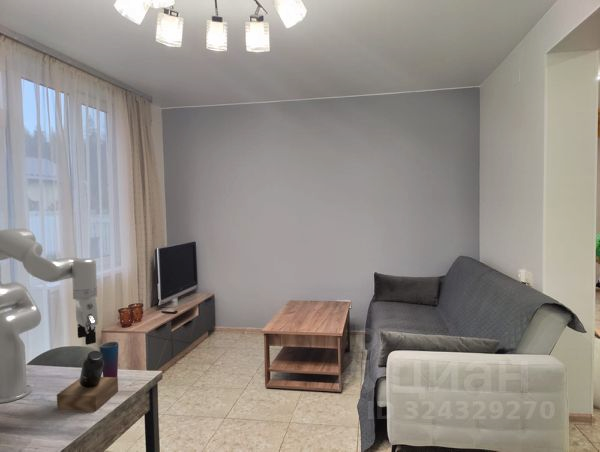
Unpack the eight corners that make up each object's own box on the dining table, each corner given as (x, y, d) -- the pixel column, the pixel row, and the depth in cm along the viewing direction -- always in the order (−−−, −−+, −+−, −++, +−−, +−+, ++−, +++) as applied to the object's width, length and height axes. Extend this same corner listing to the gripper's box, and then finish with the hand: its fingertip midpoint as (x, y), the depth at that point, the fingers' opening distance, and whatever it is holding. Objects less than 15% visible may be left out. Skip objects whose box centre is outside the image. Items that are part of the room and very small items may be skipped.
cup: (112, 385, 151) (110, 347, 151) (97, 383, 153) (95, 346, 152) (123, 377, 158) (122, 341, 157) (108, 376, 159) (107, 340, 159)
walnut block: (57, 411, 133) (56, 394, 133) (83, 391, 147) (82, 376, 147) (96, 412, 132) (95, 395, 132) (118, 392, 146) (117, 377, 146)
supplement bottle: (75, 386, 136) (80, 359, 132) (83, 373, 142) (88, 346, 139) (96, 390, 137) (101, 362, 134) (103, 376, 143) (108, 350, 140)
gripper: (104, 295, 134) (105, 343, 135) (89, 288, 146) (90, 332, 147) (80, 299, 129) (81, 349, 130) (67, 291, 141) (68, 337, 142)
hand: (86, 340), depth 138 cm, fingers open, 9 cm apart
